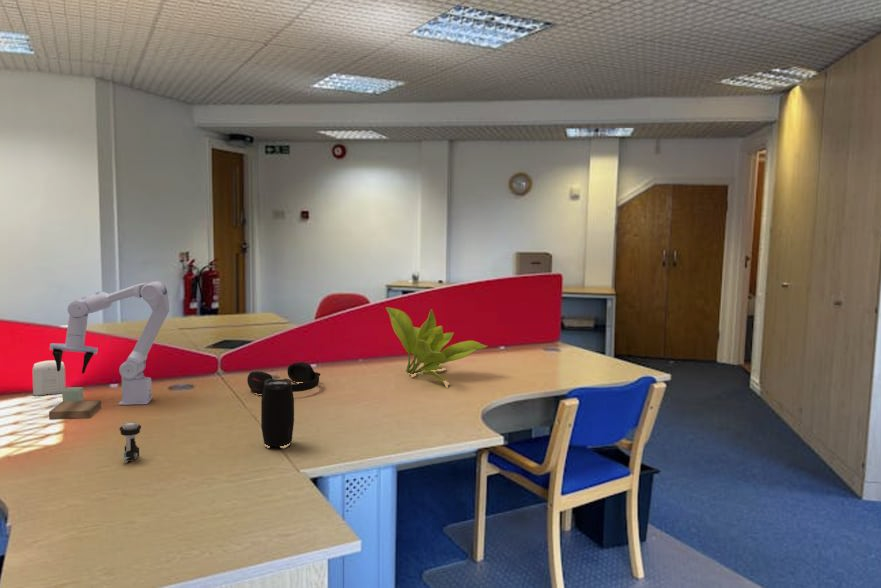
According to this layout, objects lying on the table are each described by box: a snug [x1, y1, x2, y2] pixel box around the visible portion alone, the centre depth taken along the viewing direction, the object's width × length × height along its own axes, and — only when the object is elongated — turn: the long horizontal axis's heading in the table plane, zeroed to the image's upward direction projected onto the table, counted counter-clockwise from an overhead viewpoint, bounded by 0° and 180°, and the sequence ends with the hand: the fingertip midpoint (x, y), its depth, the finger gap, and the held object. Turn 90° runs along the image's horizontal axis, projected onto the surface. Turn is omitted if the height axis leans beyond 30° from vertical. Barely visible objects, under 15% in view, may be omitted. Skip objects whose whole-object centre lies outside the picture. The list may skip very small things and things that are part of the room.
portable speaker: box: [260, 378, 295, 446], centre depth 192 cm, size 9×9×20 cm
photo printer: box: [32, 359, 66, 397], centre depth 238 cm, size 10×4×12 cm, turn 123°
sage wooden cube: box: [61, 386, 84, 402], centre depth 228 cm, size 5×5×5 cm
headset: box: [246, 361, 321, 394], centre depth 255 cm, size 28×26×9 cm
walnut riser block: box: [48, 400, 102, 420], centre depth 217 cm, size 12×12×3 cm
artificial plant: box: [385, 306, 488, 384], centre depth 279 cm, size 42×43×30 cm
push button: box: [119, 421, 142, 464], centre depth 177 cm, size 7×5×10 cm
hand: (71, 371), depth 227 cm, fingers open, 7 cm apart
